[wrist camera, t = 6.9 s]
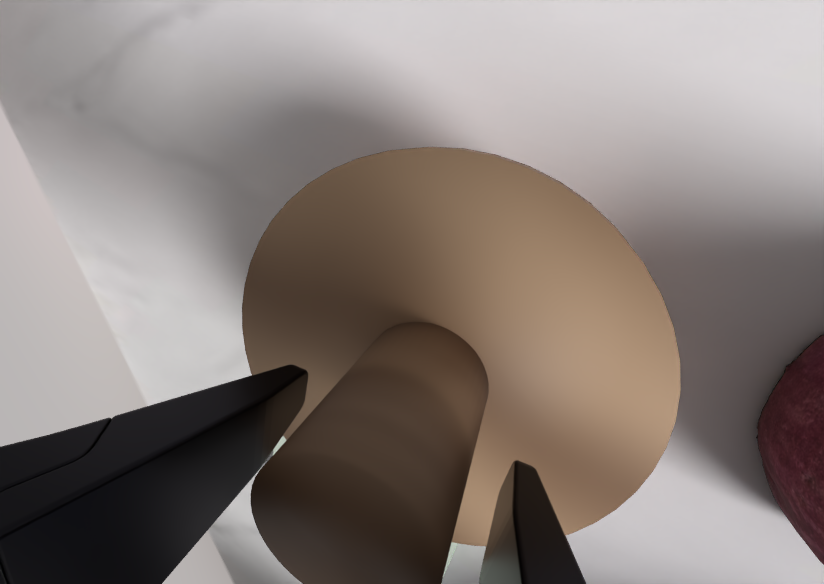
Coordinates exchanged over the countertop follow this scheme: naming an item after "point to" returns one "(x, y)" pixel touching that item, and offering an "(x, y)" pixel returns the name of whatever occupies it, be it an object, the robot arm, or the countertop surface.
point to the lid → (449, 360)
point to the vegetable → (797, 445)
